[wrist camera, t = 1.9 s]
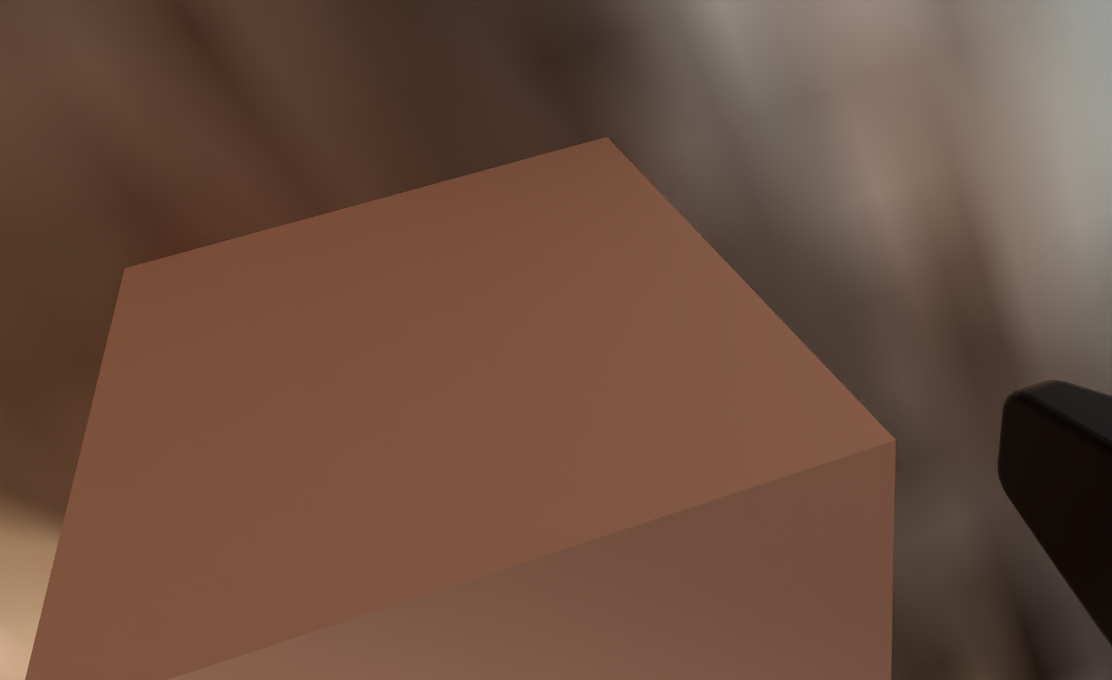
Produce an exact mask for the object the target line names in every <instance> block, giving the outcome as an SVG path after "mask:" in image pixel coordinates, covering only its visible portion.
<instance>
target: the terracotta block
mask: <svg viewBox="0 0 1112 680" xmlns="http://www.w3.org/2000/svg"><path fill="white" fill-rule="evenodd" d="M895 460H896V439H895V438H894V437H893V436H892V435H891V434H890V433H889V432H888V431H887V430H886V429H885V428H884V427H883V426H882V425H881V424H880V423H879V422H878V421H877V420H876V418H875V417H874V416H873V415H872V414H871V413H870V412H869V411H868V410H867V409H866V408H865V407H864V406H863V405H862V404H861V403H860V402H859V401H858V400H857V399H856V397H855V396H854V395H853V394H852V393H851V392H850V391H849V390H848V389H847V388H846V387H845V386H844V385H843V384H842V383H841V382H840V381H839V380H838V379H837V378H836V376H835V375H834V374H833V373H832V372H831V371H830V370H829V369H828V368H827V367H826V366H825V365H824V364H823V363H822V362H821V361H820V360H819V359H818V358H817V357H816V355H815V354H814V353H813V352H812V351H811V350H810V349H809V348H808V347H807V346H806V345H805V344H804V343H803V342H802V341H801V340H800V339H799V338H798V337H797V336H796V335H795V333H794V332H793V331H792V330H791V329H790V328H789V327H788V326H787V325H786V324H785V323H784V322H783V321H782V320H781V319H780V318H779V317H778V316H777V315H776V314H775V312H774V311H773V310H772V309H771V308H770V307H769V306H768V305H767V304H766V303H765V302H764V301H763V300H762V299H761V298H760V297H759V296H758V295H757V294H756V293H755V291H754V290H753V289H752V288H751V287H750V286H749V285H748V284H747V283H746V282H745V281H744V280H743V279H742V278H741V277H740V276H739V275H738V274H737V273H736V272H735V271H734V269H733V268H732V267H731V266H730V265H729V264H728V263H727V262H726V261H725V260H724V259H723V258H722V257H721V256H720V255H719V254H718V253H717V252H716V251H715V250H714V248H713V247H712V246H711V245H710V244H709V243H708V242H707V241H706V240H705V239H704V238H703V237H702V236H701V235H700V234H699V233H698V232H697V231H696V230H695V229H694V227H693V226H692V225H691V224H690V223H689V222H688V221H687V220H686V219H685V218H684V217H683V216H682V215H681V214H680V213H679V212H678V211H677V210H676V209H675V208H674V207H673V205H672V204H671V203H670V202H669V201H668V200H667V199H666V198H665V197H664V196H663V195H662V194H661V193H660V192H659V191H658V190H657V189H656V188H655V187H654V186H653V184H652V183H651V182H650V181H649V180H648V179H647V178H646V177H645V176H644V175H643V174H642V173H641V172H640V171H639V170H638V169H637V168H636V167H635V166H634V165H633V163H632V162H631V161H630V160H629V159H628V158H627V157H626V156H625V155H624V154H623V153H622V152H621V151H620V150H619V149H618V148H617V147H616V146H615V145H614V144H613V143H612V141H611V140H610V139H609V138H608V137H604V138H600V139H597V140H593V141H589V142H586V143H582V144H578V145H575V146H571V147H567V148H564V149H560V150H557V151H553V152H549V153H546V154H542V155H538V156H535V157H531V158H527V159H524V160H520V161H516V162H513V163H509V164H505V165H502V166H498V167H494V168H491V169H487V170H483V171H480V172H476V173H472V174H469V175H465V176H461V177H458V178H454V179H450V180H447V181H443V182H439V183H436V184H432V185H428V186H425V187H421V188H417V189H414V190H410V191H406V192H403V193H399V194H395V195H392V196H388V197H384V198H381V199H377V200H373V201H370V202H366V203H362V204H359V205H355V206H351V207H348V208H344V209H340V210H337V211H333V212H329V213H326V214H322V215H318V216H315V217H311V218H307V219H304V220H300V221H296V222H293V223H289V224H285V225H282V226H278V227H274V228H271V229H267V230H263V231H260V232H256V233H252V234H249V235H245V236H241V237H238V238H234V239H230V240H227V241H223V242H219V243H216V244H212V245H208V246H205V247H201V248H197V249H194V250H190V251H186V252H183V253H179V254H175V255H172V256H168V257H164V258H161V259H157V260H153V261H150V262H146V263H142V264H139V265H135V266H131V267H128V268H125V269H124V273H123V277H122V281H121V285H120V289H119V294H118V298H117V302H116V306H115V310H114V314H113V318H112V322H111V327H110V331H109V335H108V339H107V343H106V347H105V351H104V356H103V360H102V364H101V368H100V372H99V376H98V380H97V385H96V389H95V393H94V397H93V401H92V405H91V409H90V414H89V418H88V422H87V426H86V430H85V434H84V438H83V443H82V447H81V451H80V455H79V459H78V463H77V467H76V472H75V476H74V480H73V484H72V488H71V492H70V496H69V501H68V505H67V509H66V513H65V517H64V521H63V525H62V530H61V534H60V538H59V542H58V546H57V550H56V554H55V559H54V563H53V567H52V571H51V575H50V579H49V583H48V588H47V592H46V596H45V600H44V604H43V608H42V612H41V617H40V621H39V625H38V629H37V633H36V637H35V641H34V646H33V650H32V654H31V658H30V662H29V666H28V670H27V675H26V679H25V680H891V666H892V615H893V563H894V512H895Z"/></svg>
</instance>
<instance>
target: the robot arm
mask: <svg viewBox="0 0 1112 680" xmlns="http://www.w3.org/2000/svg"><path fill="white" fill-rule="evenodd" d="M998 474H999V479H1000V482H1001V485H1002V487H1003V489H1004V491H1005V493H1006V495H1007V496H1008V498H1009V500H1010V501H1011V502H1012V504H1013V505H1014V507H1015V508H1016V510H1017V511H1018V513H1019V514H1020V515H1021V517H1022V518H1023V520H1024V521H1025V523H1026V524H1027V526H1028V527H1029V529H1030V530H1031V531H1032V533H1033V534H1034V536H1035V537H1036V539H1037V540H1038V542H1039V543H1040V545H1041V546H1042V547H1043V549H1044V550H1045V552H1046V553H1047V555H1048V556H1049V558H1050V559H1051V560H1052V562H1053V563H1054V565H1055V566H1056V568H1057V569H1058V571H1059V572H1060V574H1061V575H1062V576H1063V578H1064V579H1065V581H1066V582H1067V584H1068V585H1069V587H1070V588H1071V589H1072V591H1073V592H1074V594H1075V595H1076V597H1077V598H1078V600H1079V601H1080V603H1081V604H1082V605H1083V607H1084V608H1085V610H1086V611H1087V613H1088V614H1089V616H1090V617H1091V619H1092V620H1093V621H1094V623H1095V624H1096V625H1097V627H1098V628H1099V629H1100V631H1101V632H1102V634H1103V635H1104V636H1105V638H1106V639H1107V640H1108V642H1109V643H1110V644H1111V646H1112V396H1110V395H1107V394H1104V393H1100V392H1097V391H1094V390H1090V389H1087V388H1084V387H1080V386H1077V385H1074V384H1070V383H1067V382H1063V381H1059V380H1051V381H1045V382H1042V383H1039V384H1036V385H1033V386H1030V387H1027V388H1024V389H1021V390H1018V391H1015V392H1013V393H1011V394H1010V395H1009V396H1008V397H1007V399H1006V401H1005V402H1004V405H1003V411H1002V422H1001V433H1000V443H999V454H998Z"/></svg>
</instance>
